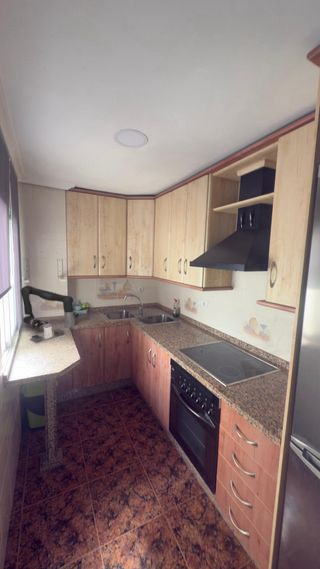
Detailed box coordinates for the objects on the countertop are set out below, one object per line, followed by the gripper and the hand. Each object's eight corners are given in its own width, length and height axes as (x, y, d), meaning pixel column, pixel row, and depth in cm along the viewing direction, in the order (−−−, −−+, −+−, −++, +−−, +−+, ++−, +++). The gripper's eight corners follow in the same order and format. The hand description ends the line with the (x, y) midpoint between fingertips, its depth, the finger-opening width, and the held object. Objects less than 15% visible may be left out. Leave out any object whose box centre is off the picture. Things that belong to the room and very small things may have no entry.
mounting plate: (58, 332, 238) (58, 328, 238) (65, 335, 229) (65, 331, 229) (29, 340, 217) (29, 336, 216) (36, 344, 208) (35, 340, 207)
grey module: (49, 335, 226) (48, 323, 225) (52, 336, 223) (51, 324, 221) (44, 336, 223) (43, 324, 221) (46, 338, 220) (46, 326, 218)
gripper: (28, 320, 232) (35, 324, 222) (42, 317, 243) (50, 321, 233) (28, 328, 233) (35, 332, 223) (43, 324, 244) (50, 328, 234)
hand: (43, 326), depth 228 cm, fingers open, 8 cm apart
